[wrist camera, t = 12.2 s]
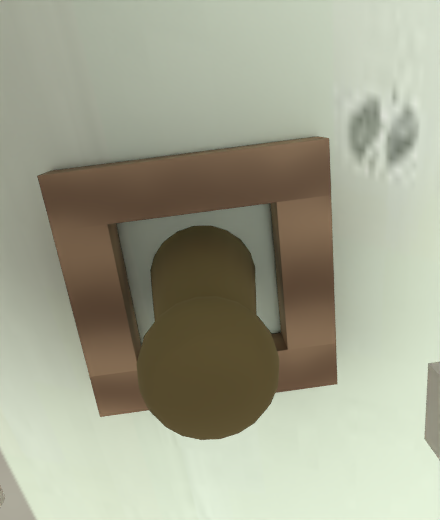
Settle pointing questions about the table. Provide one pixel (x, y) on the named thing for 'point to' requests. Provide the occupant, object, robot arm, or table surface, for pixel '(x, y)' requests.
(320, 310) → the socket plate
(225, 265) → the cork
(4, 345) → the table surface
